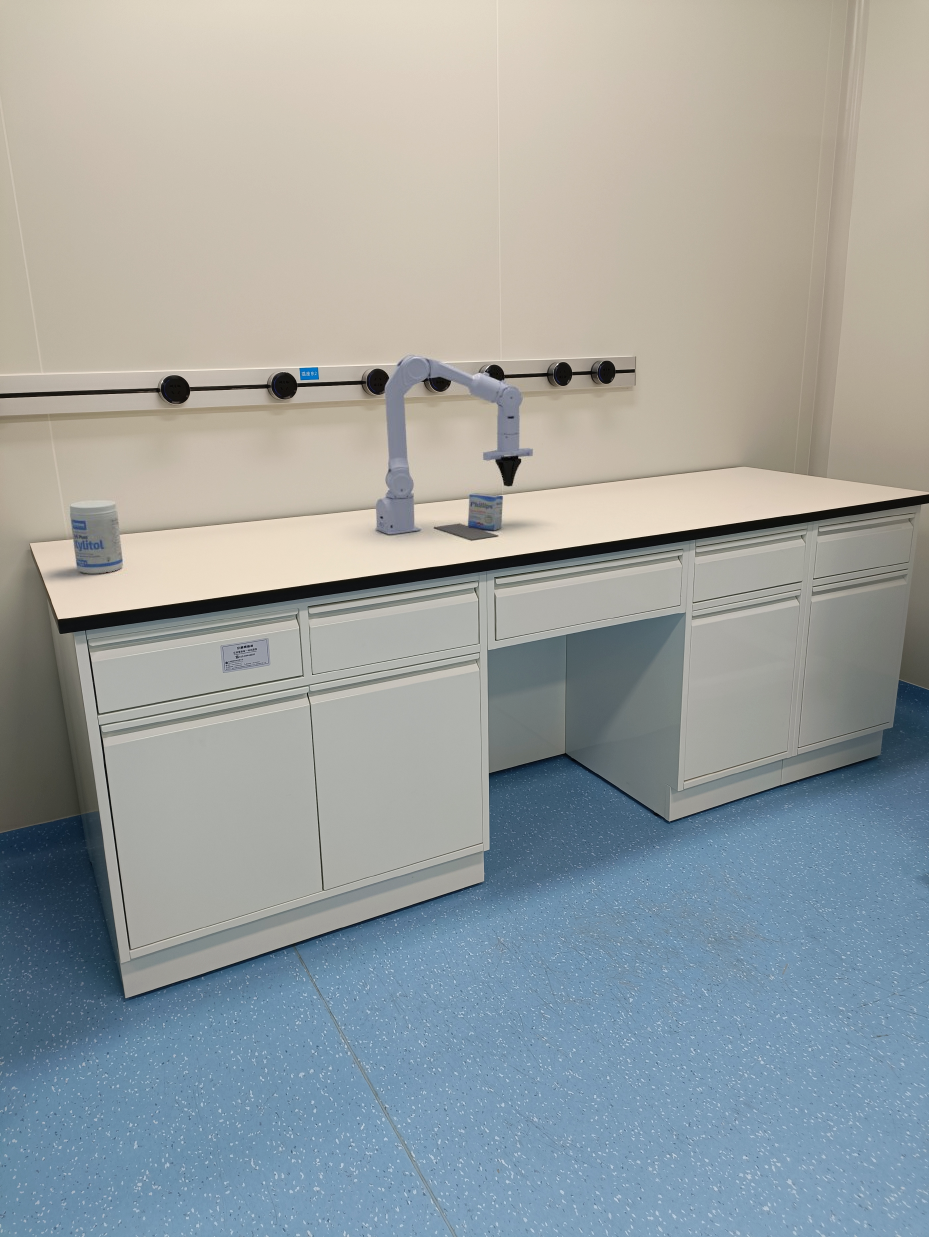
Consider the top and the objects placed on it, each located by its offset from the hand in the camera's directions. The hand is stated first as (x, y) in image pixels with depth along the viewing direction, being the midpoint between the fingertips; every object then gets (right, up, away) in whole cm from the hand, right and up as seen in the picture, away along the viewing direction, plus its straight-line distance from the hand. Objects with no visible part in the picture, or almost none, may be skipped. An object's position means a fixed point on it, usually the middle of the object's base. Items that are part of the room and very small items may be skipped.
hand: (508, 485), depth 235 cm
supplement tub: (-92, -24, -37) cm, 102 cm away
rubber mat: (-11, -13, -5) cm, 18 cm away
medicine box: (-6, -11, -1) cm, 13 cm away
